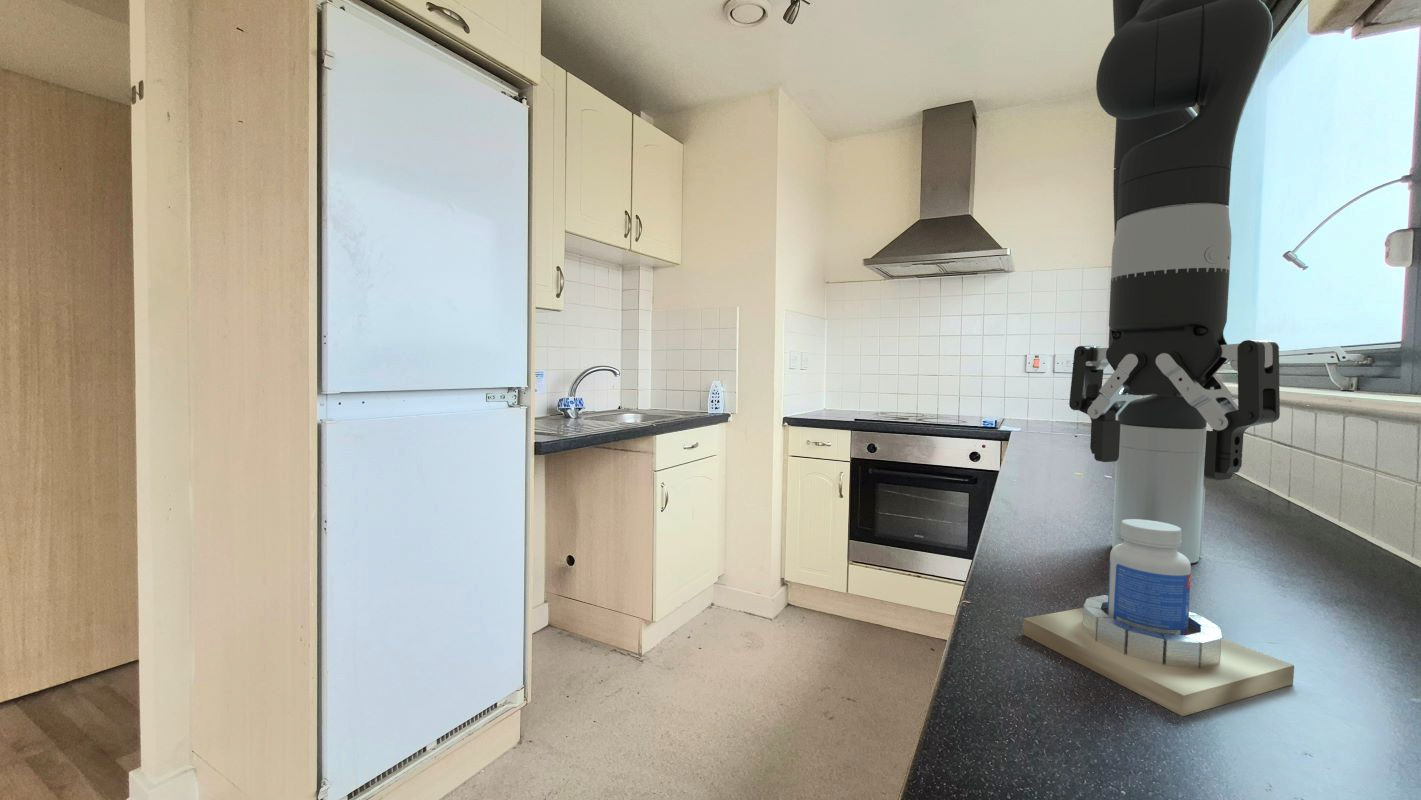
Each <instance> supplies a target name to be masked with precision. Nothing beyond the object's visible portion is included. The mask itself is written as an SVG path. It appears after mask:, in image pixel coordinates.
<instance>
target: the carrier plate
mask: <svg viewBox="0 0 1421 800" xmlns="http://www.w3.org/2000/svg"><path fill="white" fill-rule="evenodd" d="M1022 621H1023V622H1022V635H1024V636H1025V637H1027V638H1030V639H1031V640H1033V641H1035V642H1037V643H1039V644H1040V645H1043V646H1045V647H1047V648H1048V649H1050V650H1052V651H1054V652H1056V653H1057V654H1060V655H1062V656H1064V657H1066V658H1068V659H1069V660H1072V661H1074V662H1076V663H1078V664H1080V665H1082V666H1083V667H1085V668H1087V669H1089V670H1091V671H1093V672H1094V673H1098V674H1099V675H1101V676H1103V677H1105V678H1107V679H1108V680H1110V681H1113V682H1115V683H1117V684H1119V685H1120V686H1123V687H1125V689H1128V690H1130V691H1132V692H1133V693H1136V694H1138V695H1140V696H1142V697H1144V698H1146V699H1148V700H1150V701H1151V702H1154V703H1155V704H1158V705H1160V706H1161V707H1163V708H1165V709H1167V710H1169V711H1171V712H1173V713H1175V714H1177V715H1179V716H1180V717H1186V716H1189V715H1191V714H1192V715H1193V714H1196V713H1199V712H1203V711H1206V710H1209V709H1212V708H1216V707H1219V706H1223V705H1226V704H1230V703H1233V702H1234V703H1235V702H1236V701H1241V700H1243V699H1247V698H1250V697H1253V696H1257V695H1261V694H1264V693H1268V692H1271V691H1274V690H1277V689H1281V688H1285V687H1288V686H1292V685H1293V684H1294V678H1295V677H1294V674H1295V665H1294V664H1293V663H1289V662H1287V661H1284V660H1282V659H1278V658H1276V657H1274V656H1271V655H1268V654H1265V653H1263V652H1260V651H1257V650H1255V649H1252V648H1250V647H1246V646H1245V645H1241V644H1238V643H1236V642H1233V641H1231V640H1228V639H1225V638H1223V637H1221V655H1220V663H1219V664H1217V665H1213V666H1209V667H1205V668H1198V669H1197V668H1187V667H1176V666H1166V665H1164V664H1162V665H1161V664H1157V663H1153V662H1150V661H1146V660H1142V659H1139V658H1135V657H1131V656H1127V654H1122V653H1120V652H1118V651H1116V650H1114V649H1111V648H1109V647H1107V646H1105V645H1103V644H1101V643H1098V642H1097V641H1095V640H1094V639H1093V638H1092V637H1091V636H1090V635H1089V634H1088V633H1087V632H1085V631H1084V630H1083V628H1082V627H1083V607H1079V608H1074V609H1068V610H1063V611H1058V612H1051V613H1045V614H1040V615H1034V616H1029V617H1024V618H1023V620H1022Z"/></svg>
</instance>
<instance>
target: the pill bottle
mask: <svg viewBox="0 0 1421 800" xmlns="http://www.w3.org/2000/svg"><path fill="white" fill-rule="evenodd" d="M1120 534H1121V537H1122V538H1123V539H1124V543H1122V544H1118V545H1116V546H1114V547H1112V548H1111V551H1110V554H1109V570H1108V571H1109V572H1108V577H1109V578H1108V594H1107V595H1108V616H1110V617H1111V618H1113V619H1116V620H1118V621H1121V622H1123V623H1126V624H1128V625H1130V626H1133V627H1137V628H1141V629H1145V630H1149V631H1154V632H1158V633H1164V634H1175V635H1188V620H1189V612H1190V594H1191V593H1190V592H1191V574H1192V573H1191V572H1192V566H1191V564H1192V563H1190V562H1189V560H1188V559H1187V557H1185V556H1184V555H1183V554H1181V553H1179V552H1177V547H1179V546H1180V545H1181V544H1180V543H1181V542H1182V541H1181V528H1179V527H1178V526H1175V525H1172V524H1168V523H1163V522H1158V521H1151V520H1141V519H1126V520H1122V522H1121V532H1120Z"/></svg>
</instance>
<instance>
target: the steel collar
mask: <svg viewBox="0 0 1421 800" xmlns="http://www.w3.org/2000/svg"><path fill="white" fill-rule="evenodd" d="M1082 606H1083V607H1082V608H1083V627H1082V628H1083V630H1084V631H1085V632H1087V633H1088V634H1089V635H1090V636H1091V637H1092V638H1093V639H1094V640H1095V641H1097V642H1098V643H1101V644H1103V645H1105V646H1107V647H1109V648H1111V649H1114V650H1116V651H1118V652H1120V653H1122V654H1127V656H1131V657H1135V658H1139V659H1142V660H1146V661H1150V662H1153V663H1157V664H1161V665H1162V664H1164V665H1166V666H1176V667H1187V668H1197V669H1198V668H1205V667H1209V666H1213V665H1217V664H1219V663H1220V655H1221V638H1222V630H1221V628H1220V626H1218V625H1217V624H1215V623H1213V622H1212V621H1210V620H1208V619H1207V618H1205V617H1204V616H1202V615H1199V614H1197V613H1195V612H1191V611H1189V620H1188V635H1175V634H1164V633H1158V632H1154V631H1149V630H1145V629H1141V628H1137V627H1133V626H1130V625H1128V624H1126V623H1123V622H1121V621H1118V620H1116V619H1113V618H1111V617H1110V616H1108V594H1107V595H1105V594H1103V595H1098V596H1097V595H1096V596H1090V597H1087V598H1086V600H1085V602H1084V604H1083V605H1082Z"/></svg>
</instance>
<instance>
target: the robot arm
mask: <svg viewBox="0 0 1421 800" xmlns="http://www.w3.org/2000/svg"><path fill="white" fill-rule="evenodd" d="M1112 12H1113V14H1112V15H1113V33H1114V36H1112V38H1111V40H1110V42H1109V43H1108V44H1107V46H1106V48H1105V50H1104V52H1103V55H1102V56H1101V59H1100V63H1099V64H1098V68H1097V72H1096V73H1097V74H1096V80H1095V81H1096V82H1095V83H1096V85H1095V86H1096V95H1097V100H1098V103H1099V104H1100V107H1101V108H1102V110H1103V111H1105V112H1106V114H1108V115H1109V116H1111V117H1113V118H1115V134H1114V135H1115V136H1114V154H1113V155H1114V156H1113V157H1114V158H1113V161H1114V162H1113V185H1112V187H1113V192H1112V193H1113V228H1114V231H1113V232H1114V234H1113V235H1114V239H1113V242H1112V243H1113V244H1112V251H1111V272H1110V286H1109V287H1110V288H1109V289H1110V291H1109V292H1110V293H1109V310H1108V311H1109V312H1108V316H1109V317H1108V327H1109V328H1108V329H1109V330H1108V346H1107V347H1103V346H1100V345H1099V346H1098V345H1078V346H1077V347H1076V348H1074V351H1073V361H1072V362H1073V363H1072V373H1071V382H1070V390H1069V391H1070V392H1069V403H1068V405H1069V407H1070V409H1071V410H1073V411H1079V412H1081V413H1083V414H1086V415H1087V416H1088V418H1090V423H1091V425H1090V445H1089V449H1090V451H1091V454H1092V455H1093V458H1094V460H1095V461H1096V462H1102V463H1115V472H1114V473H1115V475H1114V478H1115V479H1114V497H1113V518H1112V538H1111V547H1112V548H1113V547H1114V546H1116V545H1118V544H1122V543H1124V539H1123V538H1122V537H1121V534H1120V532H1121V522H1122V520H1126V519H1141V520H1151V521H1158V522H1163V523H1168V524H1172V525H1175V526H1178V527H1179V528H1181V541H1182V542H1181V543H1180V544H1181V545H1180V546H1179V547H1177V552H1179V553H1181V554H1183V555H1184V556H1185V557H1187V559H1188V560H1189V562H1190V564H1194V563H1197V562H1199V560H1200V557H1202V553H1203V552H1202V551H1203V549H1202V548H1203V535H1204V534H1203V533H1204V519H1205V518H1204V517H1205V515H1204V514H1205V501H1206V500H1205V499H1206V496H1205V495H1206V486H1205V485H1204V478H1205V479H1209V480H1215V481H1223V480H1230V479H1231V478H1232V477H1233V475H1234V473H1235V474H1236V473H1239V471H1240V469H1241V467H1242V465H1243V464H1242V463H1243V446H1244V435H1245V431H1246V430H1247V429H1249V428H1251V427H1254V426H1259V425H1265V424H1272V423H1276V422H1277V421H1278V420H1279V419H1280V415H1281V414H1280V413H1281V412H1280V409H1281V406H1280V405H1281V404H1280V401H1281V400H1280V399H1281V398H1280V395H1281V394H1280V347H1279V344H1278V343H1277V342H1276V341H1273V340H1262V339H1261V340H1260V339H1259V340H1257V339H1255V340H1254V339H1248V340H1243V341H1241V342H1240V343H1231V344H1228V343H1227V341H1226V339H1225V335H1224V330H1225V328H1226V324H1227V321H1228V305H1229V303H1228V302H1229V292H1230V291H1229V290H1230V289H1229V288H1230V271H1231V254H1232V253H1231V252H1232V229H1231V228H1232V227H1231V221H1230V196H1231V179H1232V178H1231V176H1232V164H1233V156H1234V155H1233V154H1234V150H1235V149H1234V148H1235V143H1236V138H1237V137H1236V136H1237V134H1238V131H1239V126H1240V122H1241V119H1242V117H1243V114H1244V111H1245V108H1246V105H1247V102H1248V100H1249V99H1250V95H1251V93H1252V91H1253V88H1254V86H1255V84H1256V81H1257V80H1258V76H1259V74H1260V72H1261V70H1262V67H1263V65H1264V62H1265V60H1266V57H1267V54H1268V52H1269V49H1270V45H1271V42H1272V37H1273V33H1274V32H1273V31H1274V30H1273V29H1274V25H1273V23H1274V21H1273V17H1272V14H1271V12H1270V9H1269V8H1268V7H1267V5H1266V3H1264V2H1263V1H1262V0H1112ZM1196 106H1203V108H1201V110H1200V111H1199V112H1198V114H1197V112H1196V111H1195V110H1194V109H1193V108H1194V107H1196ZM1227 361H1229V363H1230V366H1231V368H1232V370H1234V372H1235V371H1236V372H1237V403H1236V402H1235V401H1234V400H1233V393H1232V392H1231V391H1230V390H1229V388H1228V387H1227V386H1226V385H1225V384H1224V382H1223V381H1222V380H1221V379H1220V378H1219V376H1218V375H1217V372H1218V371H1219V370H1220V369H1221V368H1222V367H1223V366H1224V364H1225V363H1226V362H1227ZM1109 365H1110V367H1111V368H1112V370H1113V371H1114V372H1113V373H1112V374H1111V375H1110V376H1109V378H1108V379H1107V380H1106V382H1105V383H1104V384H1103V377H1104V371H1105V369H1106V368H1107V367H1108V366H1109ZM1140 396H1145V397H1142V398H1141V397H1140ZM1139 397H1140V398H1139ZM1116 418H1117V419H1116ZM1207 424H1208V425H1209V427H1211V428H1212V429H1208V430H1207Z"/></svg>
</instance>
